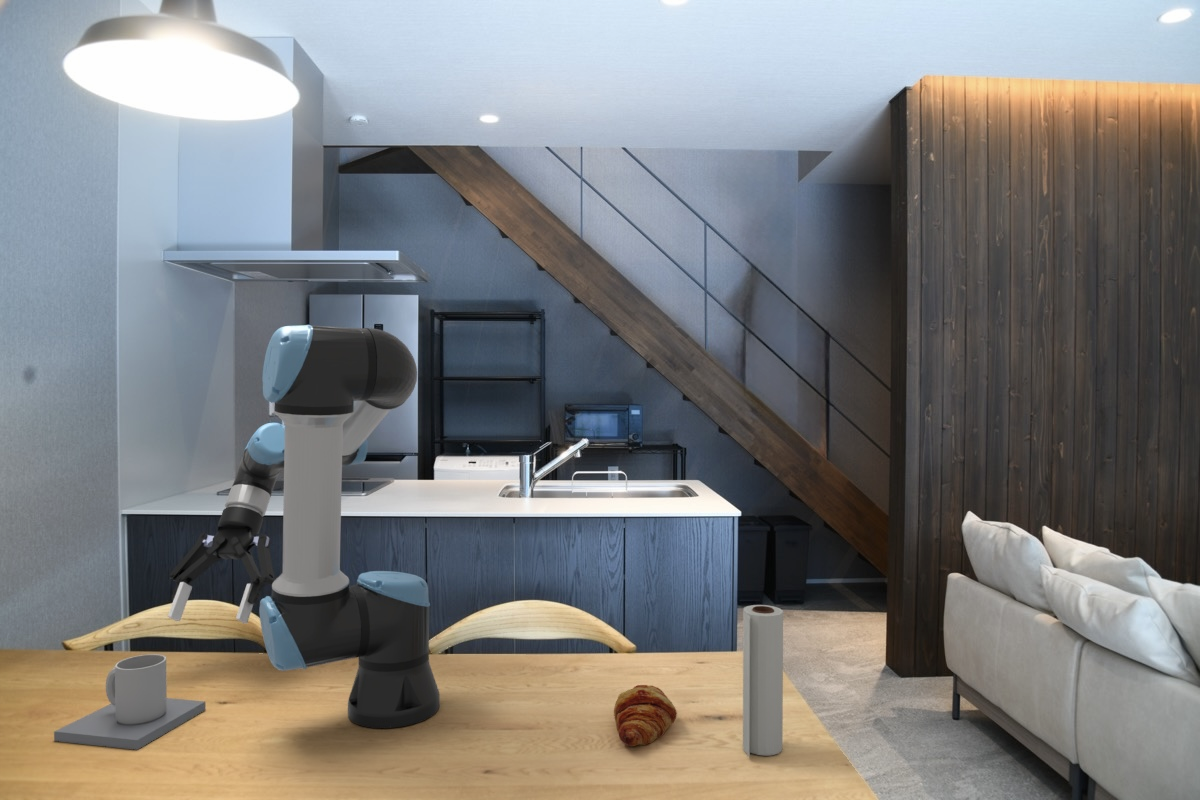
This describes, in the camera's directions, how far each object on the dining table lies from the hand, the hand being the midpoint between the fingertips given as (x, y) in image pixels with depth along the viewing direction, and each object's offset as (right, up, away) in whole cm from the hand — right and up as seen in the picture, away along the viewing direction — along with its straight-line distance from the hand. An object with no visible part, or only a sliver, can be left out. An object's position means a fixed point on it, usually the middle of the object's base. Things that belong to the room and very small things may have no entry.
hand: (207, 620), depth 143 cm
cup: (-5, -12, -15) cm, 19 cm away
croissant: (+79, -13, -15) cm, 81 cm away
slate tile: (-5, -13, -15) cm, 20 cm away
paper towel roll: (+96, -13, -23) cm, 99 cm away
